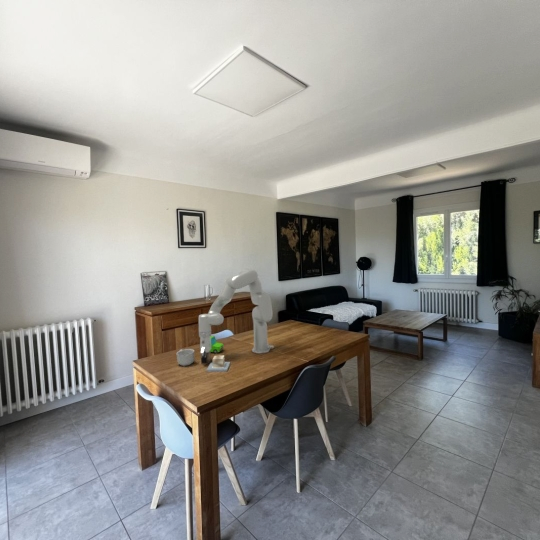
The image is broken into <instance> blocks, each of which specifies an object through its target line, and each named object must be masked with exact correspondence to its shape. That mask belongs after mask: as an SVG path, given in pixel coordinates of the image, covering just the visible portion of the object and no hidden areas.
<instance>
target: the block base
mask: <svg viewBox="0 0 540 540" xmlns="http://www.w3.org/2000/svg"><path fill="white" fill-rule="evenodd" d="M212 362H213V367H223V366H224V364H225V362H226V361H225V355H214V356H213V358H212Z"/></svg>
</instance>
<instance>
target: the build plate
mask: <svg viewBox="0 0 540 540" xmlns="http://www.w3.org/2000/svg"><path fill="white" fill-rule="evenodd" d="M230 365H231V361H225V364H224V366H223V367H213V361H210V363H209V364H208V367H207V368H206V373H207V372H209V373H210V372H211V373H213V372H215V373H216V372H228V370H229V368H230Z"/></svg>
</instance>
